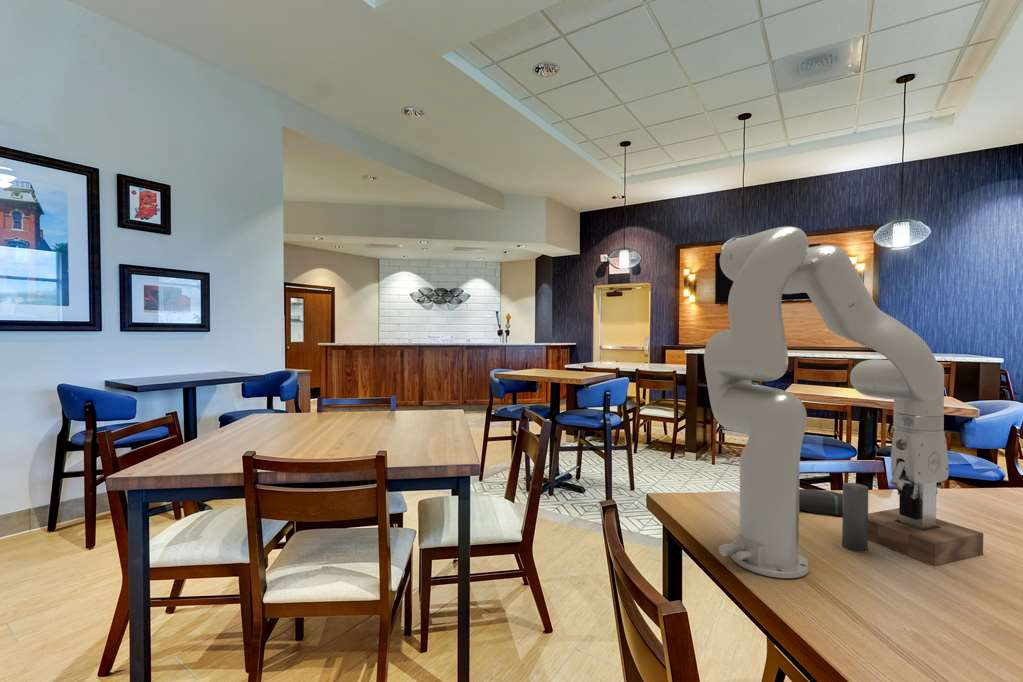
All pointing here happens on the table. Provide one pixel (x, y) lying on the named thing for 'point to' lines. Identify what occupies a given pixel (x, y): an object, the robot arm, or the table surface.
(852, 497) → the round bit
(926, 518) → the square bit
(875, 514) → the bore block
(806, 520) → the table surface
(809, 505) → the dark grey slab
